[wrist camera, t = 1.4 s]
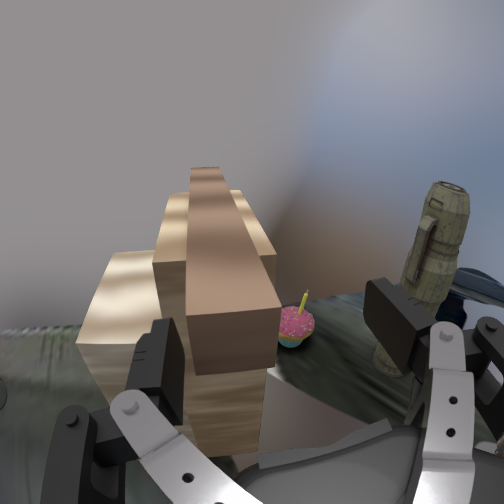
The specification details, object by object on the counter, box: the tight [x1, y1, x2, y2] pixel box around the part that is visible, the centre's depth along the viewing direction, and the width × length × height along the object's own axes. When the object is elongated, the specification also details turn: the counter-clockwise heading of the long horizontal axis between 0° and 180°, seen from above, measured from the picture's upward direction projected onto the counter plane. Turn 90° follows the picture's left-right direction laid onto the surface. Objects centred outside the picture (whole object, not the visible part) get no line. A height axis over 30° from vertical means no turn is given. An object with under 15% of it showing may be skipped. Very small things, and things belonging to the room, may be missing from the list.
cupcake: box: [278, 291, 314, 347], centre depth 52 cm, size 9×8×12 cm
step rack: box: [76, 190, 277, 457], centre depth 31 cm, size 16×16×32 cm
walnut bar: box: [186, 167, 282, 376], centre depth 20 cm, size 24×3×3 cm, turn 11°
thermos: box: [372, 181, 470, 377], centre depth 40 cm, size 9×12×35 cm
